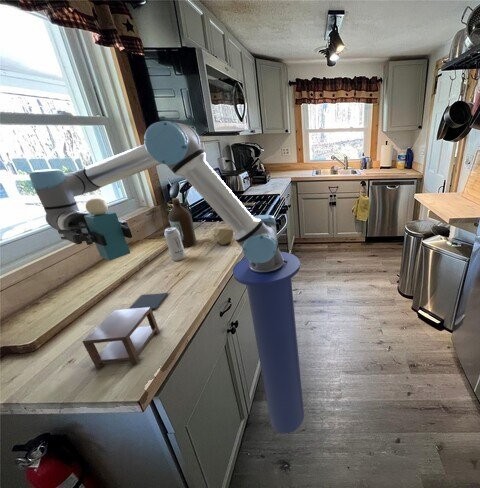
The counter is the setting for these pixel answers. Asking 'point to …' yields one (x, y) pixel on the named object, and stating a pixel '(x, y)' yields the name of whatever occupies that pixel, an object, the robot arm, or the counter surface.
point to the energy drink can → (174, 243)
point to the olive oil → (182, 223)
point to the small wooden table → (121, 336)
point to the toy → (106, 229)
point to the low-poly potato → (223, 235)
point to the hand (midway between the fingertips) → (117, 236)
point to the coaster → (149, 301)
